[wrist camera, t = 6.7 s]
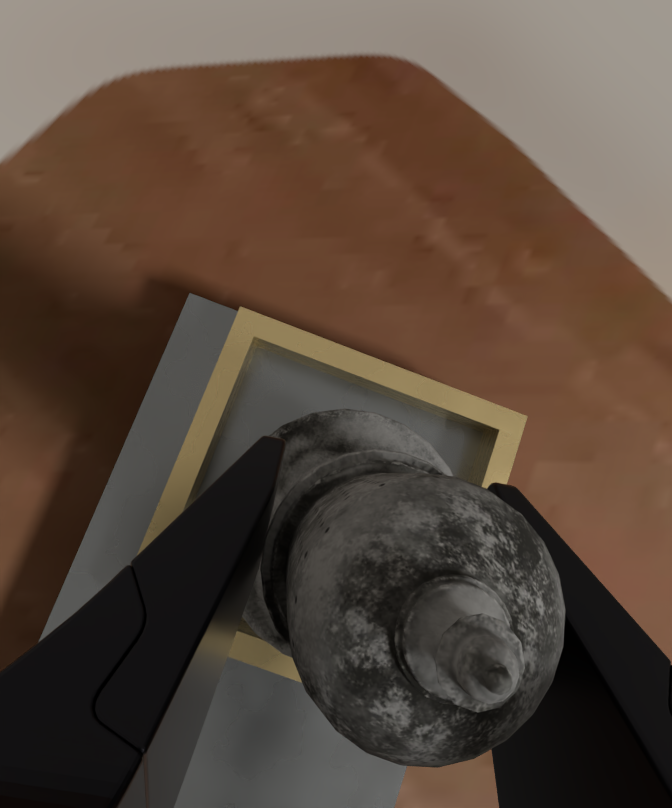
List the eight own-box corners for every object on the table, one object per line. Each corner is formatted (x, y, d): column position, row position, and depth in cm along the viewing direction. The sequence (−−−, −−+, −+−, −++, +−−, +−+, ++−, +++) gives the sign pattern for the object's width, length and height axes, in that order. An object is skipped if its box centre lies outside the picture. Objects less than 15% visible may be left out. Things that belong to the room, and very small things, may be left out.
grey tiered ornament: (195, 486, 15) (-136, 537, 3) (363, 388, 16) (603, 139, 4) (296, 664, 15) (358, 1489, 3) (462, 552, 15) (1042, 807, 4)
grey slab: (298, 1022, 18) (300, 1177, 14) (-53, 909, 18) (-153, 1037, 14) (489, 423, 22) (534, 412, 18) (201, 313, 21) (181, 277, 17)
